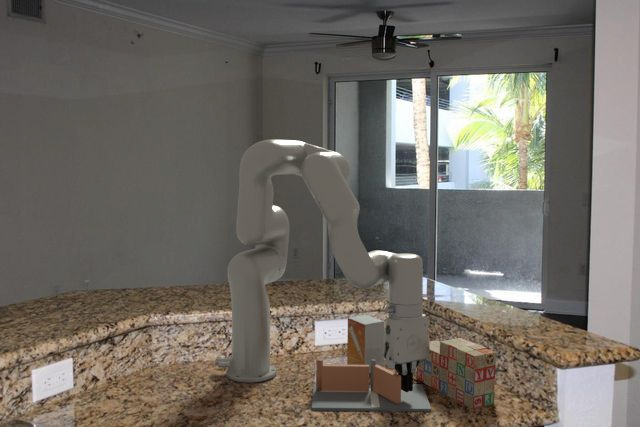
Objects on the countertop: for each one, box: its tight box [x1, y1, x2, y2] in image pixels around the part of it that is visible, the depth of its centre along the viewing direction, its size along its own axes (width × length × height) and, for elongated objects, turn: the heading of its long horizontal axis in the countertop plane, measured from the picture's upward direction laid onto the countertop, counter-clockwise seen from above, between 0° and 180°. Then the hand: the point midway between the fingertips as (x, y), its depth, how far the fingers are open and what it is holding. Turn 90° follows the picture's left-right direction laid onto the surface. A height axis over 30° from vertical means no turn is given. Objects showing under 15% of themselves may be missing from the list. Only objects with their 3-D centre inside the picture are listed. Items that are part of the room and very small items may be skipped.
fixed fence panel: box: [315, 358, 370, 391], centre depth 152 cm, size 12×2×7 cm, turn 89°
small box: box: [346, 314, 385, 374], centre depth 170 cm, size 8×6×13 cm
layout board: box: [311, 382, 432, 412], centre depth 150 cm, size 26×15×1 cm, turn 89°
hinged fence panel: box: [370, 359, 401, 404], centre depth 148 cm, size 10×1×7 cm, turn 30°
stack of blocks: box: [416, 337, 497, 410], centre depth 154 cm, size 21×6×12 cm, turn 28°
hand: (405, 389), depth 147 cm, fingers closed
